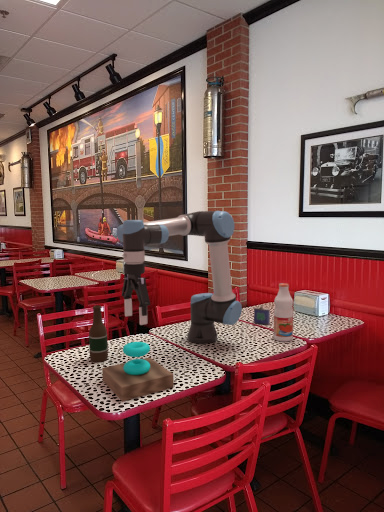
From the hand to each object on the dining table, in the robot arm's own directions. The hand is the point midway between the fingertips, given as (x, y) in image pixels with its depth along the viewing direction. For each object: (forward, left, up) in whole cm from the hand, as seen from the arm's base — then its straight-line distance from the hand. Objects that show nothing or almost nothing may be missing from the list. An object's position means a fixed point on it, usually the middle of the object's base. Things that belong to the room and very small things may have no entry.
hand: (135, 319), depth 144 cm
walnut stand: (0, 0, -24) cm, 25 cm away
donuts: (0, 0, -20) cm, 20 cm away
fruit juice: (-83, -8, -25) cm, 87 cm away
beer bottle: (+4, -32, -25) cm, 41 cm away
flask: (-92, -34, -25) cm, 101 cm away
